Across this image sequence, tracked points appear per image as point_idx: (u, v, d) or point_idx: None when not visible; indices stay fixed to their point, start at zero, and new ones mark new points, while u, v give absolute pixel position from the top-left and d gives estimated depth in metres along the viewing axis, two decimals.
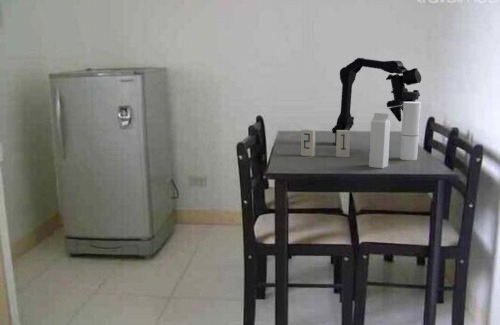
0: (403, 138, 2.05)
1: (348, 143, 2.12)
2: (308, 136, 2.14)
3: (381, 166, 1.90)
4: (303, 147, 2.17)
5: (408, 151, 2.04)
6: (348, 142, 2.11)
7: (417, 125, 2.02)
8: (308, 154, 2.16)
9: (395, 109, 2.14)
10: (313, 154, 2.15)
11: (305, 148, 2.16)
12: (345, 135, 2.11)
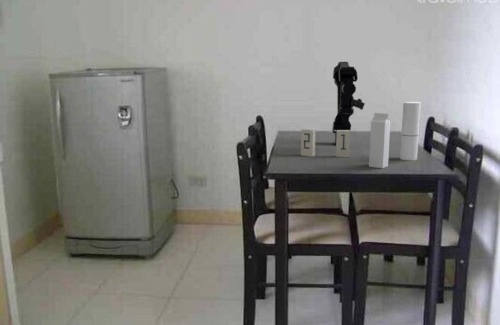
0: (403, 138, 2.05)
1: (348, 143, 2.12)
2: (308, 136, 2.14)
3: (381, 166, 1.90)
4: (303, 147, 2.17)
5: (408, 151, 2.04)
6: (348, 142, 2.11)
7: (417, 125, 2.02)
8: (308, 154, 2.16)
9: (344, 115, 2.19)
10: (313, 154, 2.15)
11: (305, 148, 2.16)
12: (345, 135, 2.11)
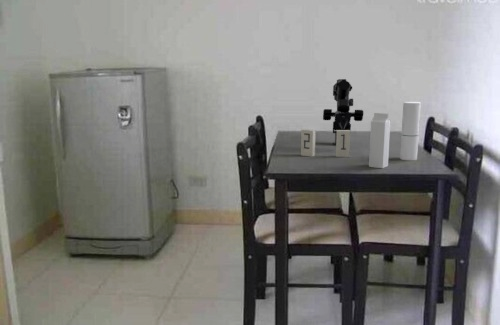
0: (403, 138, 2.05)
1: (348, 143, 2.12)
2: (308, 136, 2.14)
3: (381, 166, 1.90)
4: (303, 147, 2.17)
5: (408, 151, 2.04)
6: (348, 142, 2.11)
7: (417, 125, 2.02)
8: (308, 154, 2.16)
9: None
10: (313, 154, 2.15)
11: (305, 148, 2.16)
12: (345, 135, 2.11)
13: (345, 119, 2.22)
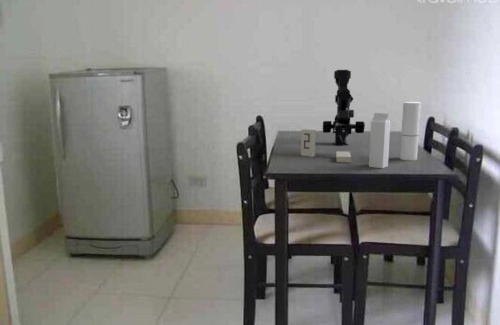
0: (403, 138, 2.05)
1: None
2: (308, 136, 2.14)
3: (381, 166, 1.90)
4: (303, 147, 2.17)
5: (408, 151, 2.04)
6: None
7: (417, 125, 2.02)
8: (308, 154, 2.16)
9: (340, 132, 2.14)
10: (313, 154, 2.15)
11: (305, 148, 2.16)
12: None
13: (345, 131, 2.12)
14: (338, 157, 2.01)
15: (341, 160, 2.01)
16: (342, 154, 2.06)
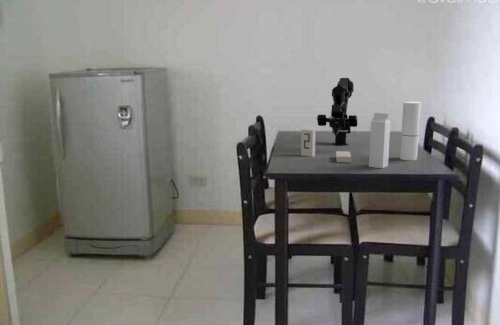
0: (403, 138, 2.05)
1: None
2: (308, 136, 2.14)
3: (381, 166, 1.90)
4: (303, 147, 2.17)
5: (408, 151, 2.04)
6: None
7: (417, 125, 2.02)
8: (308, 154, 2.16)
9: None
10: (313, 154, 2.15)
11: (305, 148, 2.16)
12: None
13: (338, 124, 2.20)
14: (338, 157, 2.01)
15: (341, 160, 2.01)
16: (342, 154, 2.06)
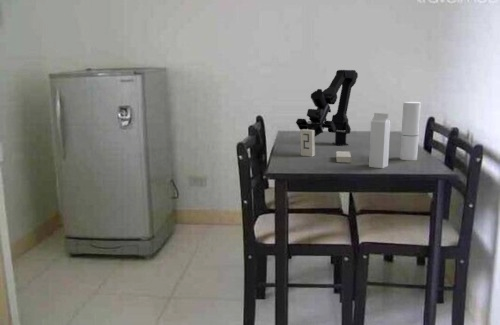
0: (403, 138, 2.05)
1: None
2: (307, 136, 2.13)
3: (381, 166, 1.90)
4: (303, 147, 2.16)
5: (408, 151, 2.04)
6: None
7: (417, 125, 2.02)
8: (308, 154, 2.16)
9: None
10: (313, 154, 2.15)
11: (305, 148, 2.16)
12: None
13: (314, 129, 2.17)
14: (338, 157, 2.01)
15: (341, 160, 2.01)
16: (342, 154, 2.06)
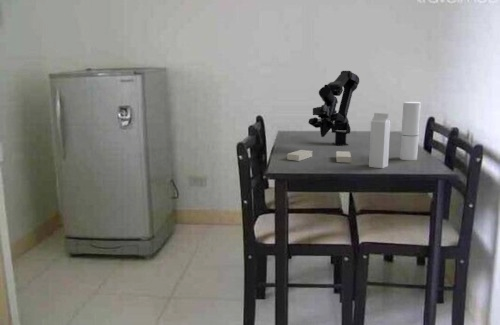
0: (403, 138, 2.05)
1: None
2: None
3: (381, 166, 1.90)
4: None
5: (408, 151, 2.04)
6: None
7: (417, 125, 2.02)
8: None
9: None
10: (311, 154, 2.14)
11: None
12: None
13: (324, 126, 2.21)
14: (338, 157, 2.01)
15: (341, 160, 2.01)
16: (342, 154, 2.06)
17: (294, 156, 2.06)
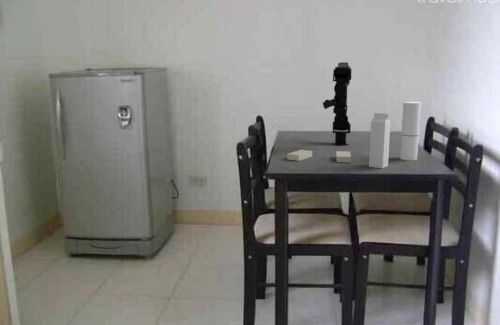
0: (403, 138, 2.05)
1: None
2: None
3: (381, 166, 1.90)
4: None
5: (408, 151, 2.04)
6: None
7: (417, 125, 2.02)
8: None
9: None
10: (311, 154, 2.14)
11: None
12: None
13: (337, 116, 2.24)
14: (338, 157, 2.01)
15: (341, 160, 2.01)
16: (342, 154, 2.06)
17: (294, 156, 2.06)
